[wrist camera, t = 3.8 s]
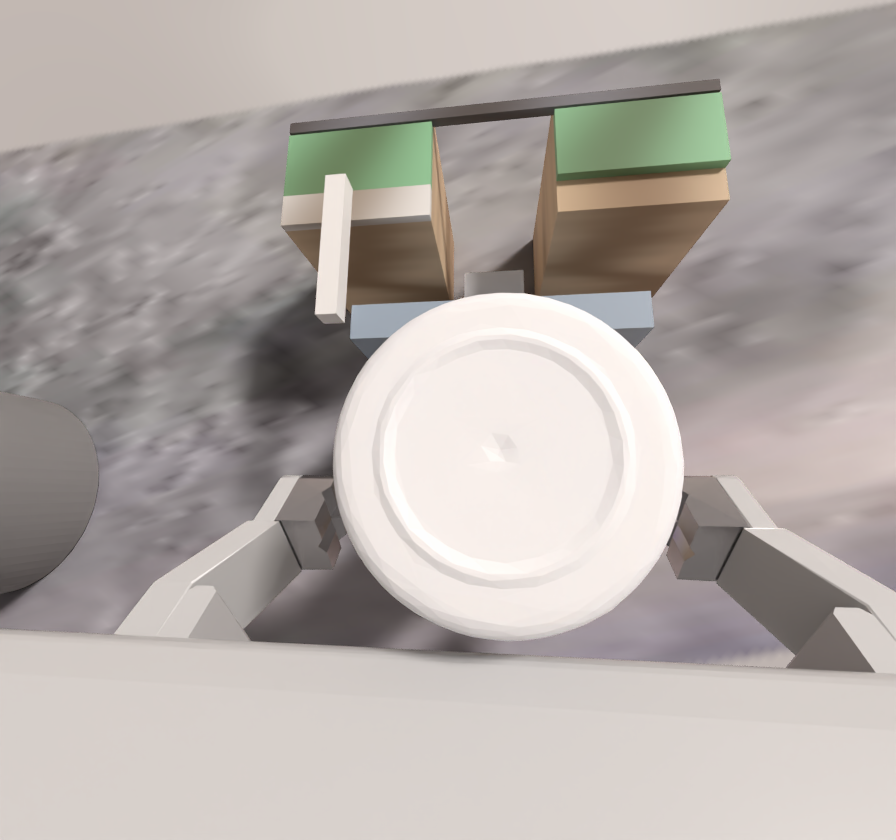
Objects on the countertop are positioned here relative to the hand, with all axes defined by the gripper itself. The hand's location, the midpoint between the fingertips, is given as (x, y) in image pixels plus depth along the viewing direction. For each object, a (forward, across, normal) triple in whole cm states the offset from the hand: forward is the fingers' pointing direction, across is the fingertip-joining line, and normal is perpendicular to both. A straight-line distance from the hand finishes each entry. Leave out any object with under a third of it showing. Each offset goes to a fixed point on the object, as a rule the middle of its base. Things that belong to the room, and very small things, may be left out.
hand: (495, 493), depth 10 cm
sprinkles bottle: (+6, 0, +5) cm, 8 cm away
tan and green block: (+13, 0, -2) cm, 13 cm away
